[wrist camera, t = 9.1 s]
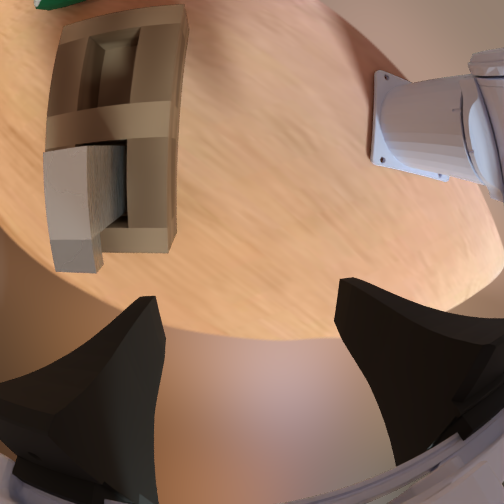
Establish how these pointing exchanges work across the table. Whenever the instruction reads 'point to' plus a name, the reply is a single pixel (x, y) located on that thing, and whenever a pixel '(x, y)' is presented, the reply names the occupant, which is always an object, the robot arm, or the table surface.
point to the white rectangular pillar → (83, 202)
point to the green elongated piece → (54, 4)
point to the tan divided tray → (126, 111)
